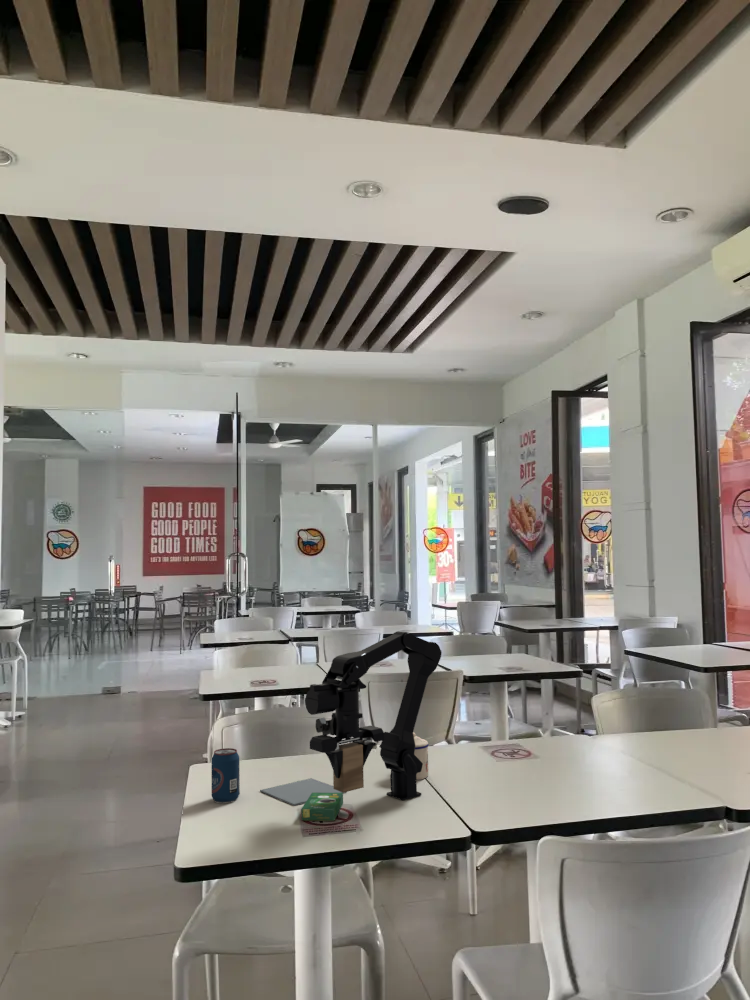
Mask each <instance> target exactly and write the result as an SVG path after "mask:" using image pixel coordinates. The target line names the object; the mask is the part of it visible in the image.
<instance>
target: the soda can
mask: <svg viewBox="0 0 750 1000" xmlns="http://www.w3.org/2000/svg"><path fill="white" fill-rule="evenodd" d="M240 774H241V773H240V755H239V754H238V750H237V749H236V748H231V747H230V748H219V749H215V750H214V751H213V755H212V757H211V798H212V800H214V802H215V803H217V804H229V803H233V802H235V801H237V800H238V798H239V796H240V794H241V790H240V789H241V788H240Z"/></svg>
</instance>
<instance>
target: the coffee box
mask: <svg viewBox="0 0 750 1000" xmlns="http://www.w3.org/2000/svg"><path fill="white" fill-rule="evenodd" d="M343 804H344V793H311V795H310V797H309V798H308V800H307V801H306V803H304V804H303V806H302V807H301V809H300V811H301V814H300V815H301V821H313V822H314V821H317V822H318V821H319V822H320V821H324V822H330V821H331V822H332V821H333V822H334V821H335V820H336V818H337V816H338V814H339V813H340V810H341V809H342V806H343Z"/></svg>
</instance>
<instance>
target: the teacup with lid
mask: <svg viewBox="0 0 750 1000" xmlns="http://www.w3.org/2000/svg"><path fill="white" fill-rule="evenodd" d="M413 736H414V741H415V752H414V755H415V756H416V757H417V758H418V759H419V760H420V761H421V762H422V763H423V765H422V770H421V772H419V773H417V774H416V781H417V780H423V779H427V778H428V776H429V750H428V749H429V742H428V740H426V739H424V738H421V737H420V736H417V735H416V733H415V732H414V731H413Z"/></svg>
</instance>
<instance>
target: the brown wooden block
mask: <svg viewBox="0 0 750 1000" xmlns="http://www.w3.org/2000/svg"><path fill="white" fill-rule="evenodd" d="M339 750H343V756H342V766H341V774H340V778H336V776H335V774H334V771H333V770H332V772H333V773H332V774H333V775H332V780H333V785H332V786H334V789H335V790H338V791H340V792H343V794H345V793H344V792H346V793H347V792H353V791H356V790H360V789H363V788H364V787H365V785H364V781H365V779H364V767H363V745H361V744H358V743H354V742H349V743H344V744H339Z"/></svg>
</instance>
